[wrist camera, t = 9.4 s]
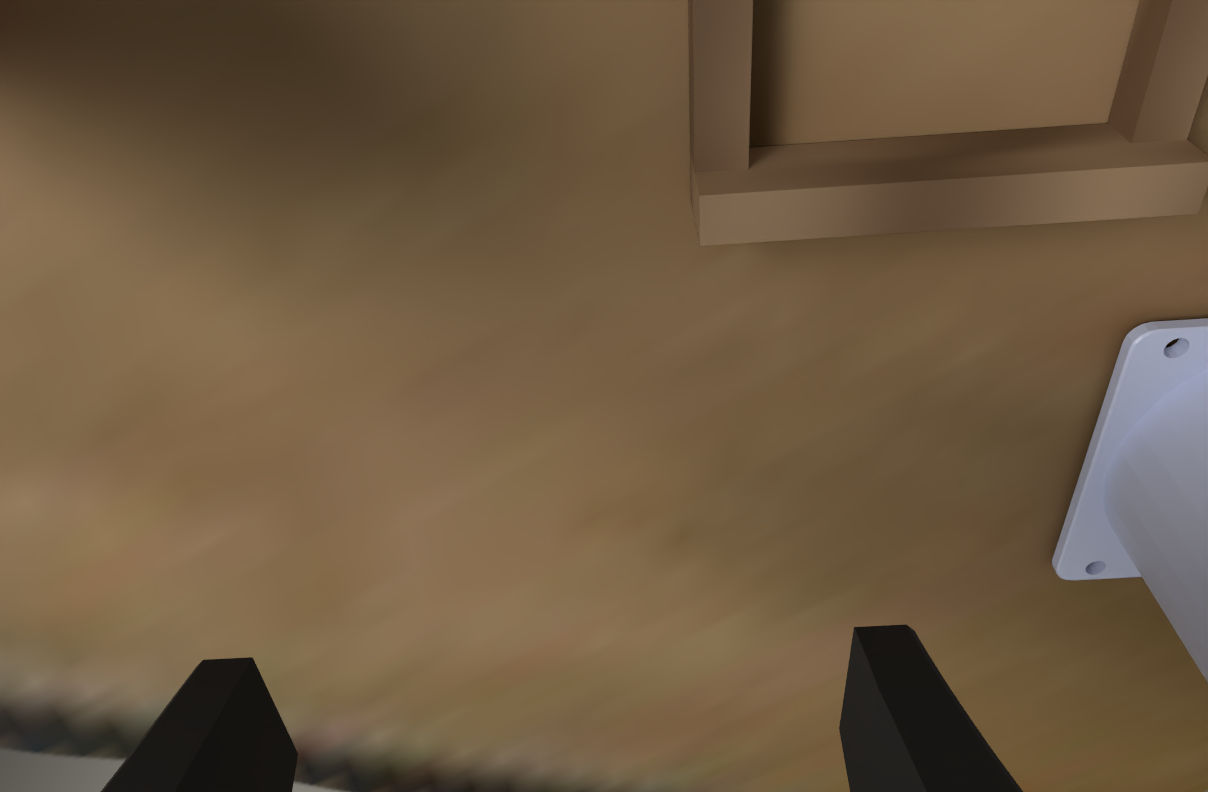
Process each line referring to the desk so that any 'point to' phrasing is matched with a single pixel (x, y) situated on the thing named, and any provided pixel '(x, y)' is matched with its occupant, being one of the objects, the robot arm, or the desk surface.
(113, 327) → the desk surface
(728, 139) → the frame
